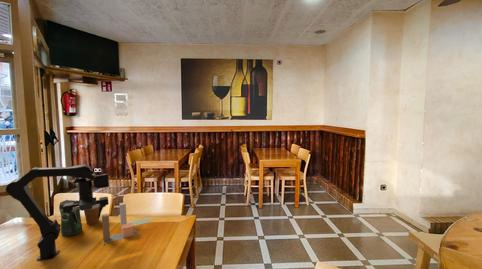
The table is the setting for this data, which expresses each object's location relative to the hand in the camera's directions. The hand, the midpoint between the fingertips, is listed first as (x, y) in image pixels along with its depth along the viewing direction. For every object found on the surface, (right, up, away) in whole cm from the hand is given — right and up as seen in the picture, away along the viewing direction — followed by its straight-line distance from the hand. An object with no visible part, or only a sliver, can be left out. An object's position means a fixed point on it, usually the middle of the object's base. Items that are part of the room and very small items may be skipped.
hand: (88, 220), depth 121 cm
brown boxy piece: (+12, -12, +8) cm, 19 cm away
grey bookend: (+13, -11, +24) cm, 29 cm away
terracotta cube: (+15, -11, +10) cm, 21 cm away
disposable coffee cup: (-14, -11, +27) cm, 33 cm away
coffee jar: (-18, -12, +15) cm, 26 cm away
